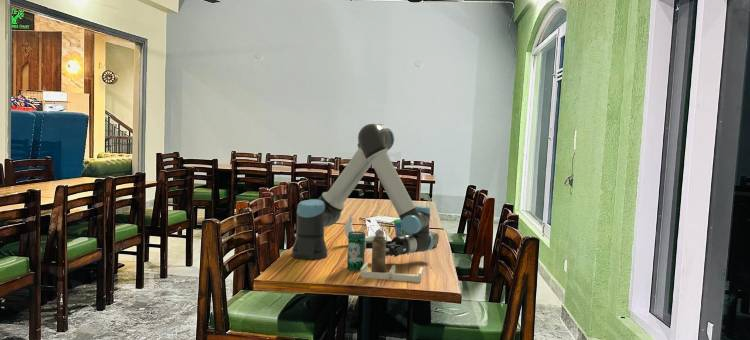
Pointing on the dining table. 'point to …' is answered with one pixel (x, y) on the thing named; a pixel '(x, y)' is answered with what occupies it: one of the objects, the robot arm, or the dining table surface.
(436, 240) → the ceramic mug
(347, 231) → the white curved horn
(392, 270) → the caddy
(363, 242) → the can
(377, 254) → the pepper mill
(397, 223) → the snack cup
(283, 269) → the dining table surface
